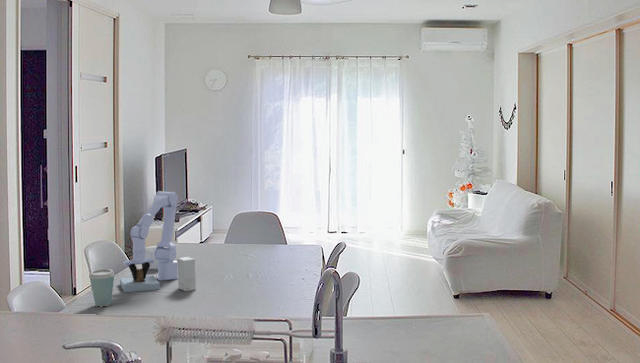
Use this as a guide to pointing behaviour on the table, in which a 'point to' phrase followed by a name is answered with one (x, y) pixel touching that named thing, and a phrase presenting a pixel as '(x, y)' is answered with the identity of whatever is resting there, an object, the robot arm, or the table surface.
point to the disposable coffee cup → (102, 286)
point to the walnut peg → (139, 275)
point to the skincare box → (186, 274)
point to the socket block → (139, 284)
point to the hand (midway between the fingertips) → (139, 279)
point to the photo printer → (151, 256)
